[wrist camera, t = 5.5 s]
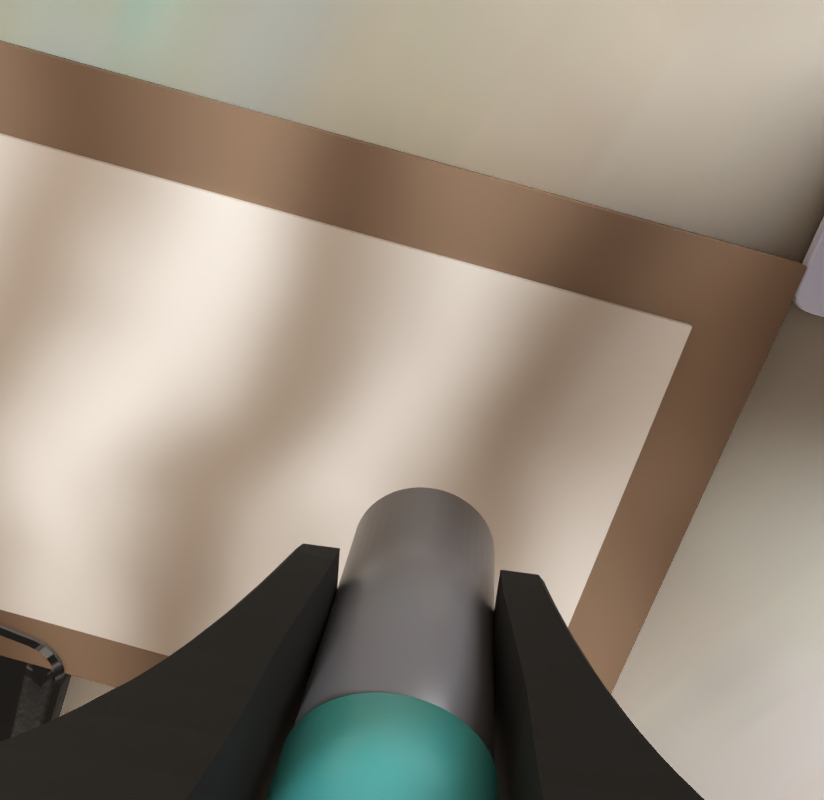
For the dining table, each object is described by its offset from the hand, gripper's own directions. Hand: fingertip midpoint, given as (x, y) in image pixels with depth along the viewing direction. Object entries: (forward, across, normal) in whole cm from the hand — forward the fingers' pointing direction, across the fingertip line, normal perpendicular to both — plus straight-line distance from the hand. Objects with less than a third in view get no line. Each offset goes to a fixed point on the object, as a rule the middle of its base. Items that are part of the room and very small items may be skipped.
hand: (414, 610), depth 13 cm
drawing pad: (+9, +5, +2) cm, 11 cm away
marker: (+2, 0, 0) cm, 2 cm away
